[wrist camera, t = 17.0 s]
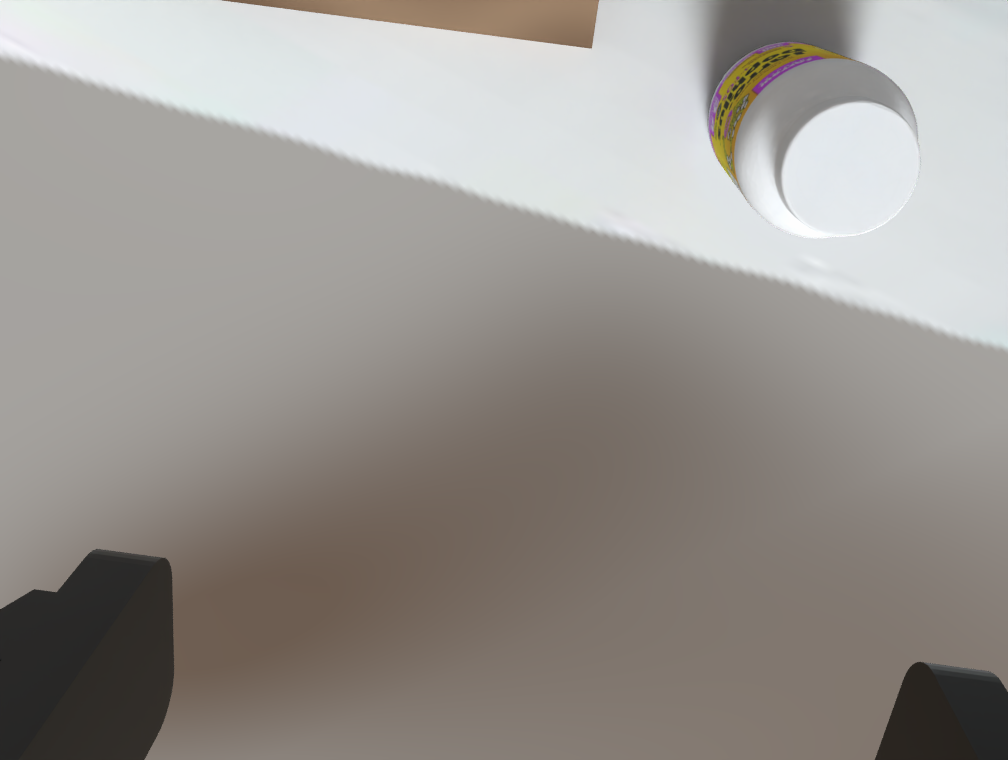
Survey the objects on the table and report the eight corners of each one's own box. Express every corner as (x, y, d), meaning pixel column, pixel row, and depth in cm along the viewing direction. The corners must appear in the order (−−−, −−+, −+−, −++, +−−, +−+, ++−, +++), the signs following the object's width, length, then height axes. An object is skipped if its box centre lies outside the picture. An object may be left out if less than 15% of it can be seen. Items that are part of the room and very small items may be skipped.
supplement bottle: (783, 7, 43) (866, 22, 31) (881, 111, 44) (996, 163, 33) (674, 121, 45) (712, 175, 33) (771, 216, 47) (840, 301, 35)
